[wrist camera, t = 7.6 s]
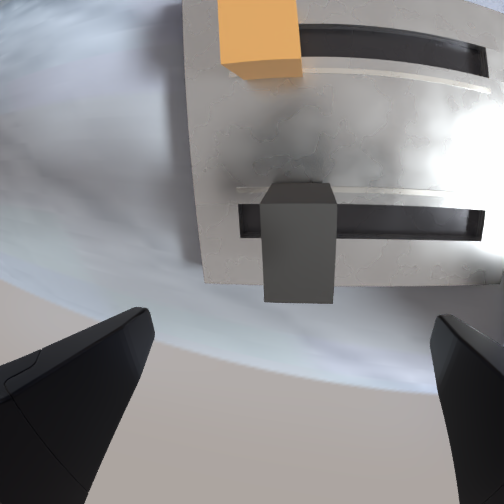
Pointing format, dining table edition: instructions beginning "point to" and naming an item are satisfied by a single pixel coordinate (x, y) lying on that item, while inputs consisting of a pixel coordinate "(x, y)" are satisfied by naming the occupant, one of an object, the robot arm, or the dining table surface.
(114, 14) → the dining table surface
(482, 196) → the panel
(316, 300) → the black fader
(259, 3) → the orange fader
